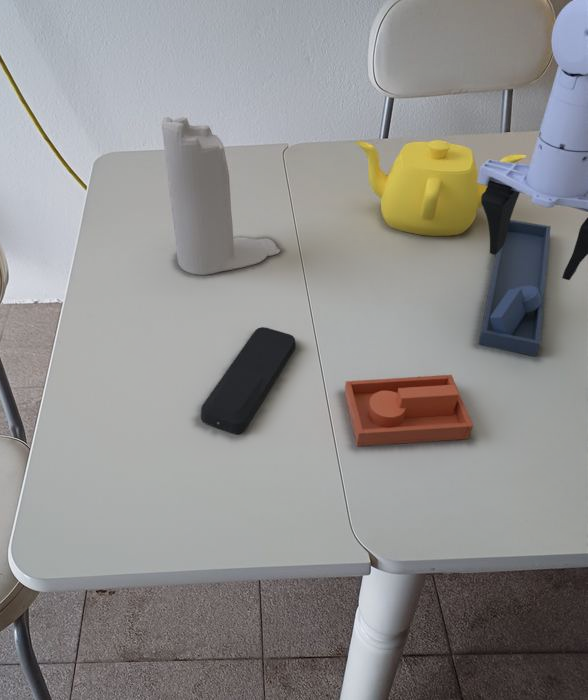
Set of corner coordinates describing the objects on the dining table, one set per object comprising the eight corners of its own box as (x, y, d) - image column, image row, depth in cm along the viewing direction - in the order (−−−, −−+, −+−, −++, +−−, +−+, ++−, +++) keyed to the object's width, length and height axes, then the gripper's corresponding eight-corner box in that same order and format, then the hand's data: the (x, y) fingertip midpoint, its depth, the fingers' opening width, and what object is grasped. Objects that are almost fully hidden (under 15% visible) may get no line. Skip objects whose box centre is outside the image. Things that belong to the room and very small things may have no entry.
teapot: (340, 240, 89) (346, 167, 82) (355, 186, 100) (362, 117, 93) (508, 260, 84) (531, 184, 77) (505, 200, 95) (524, 129, 88)
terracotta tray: (448, 387, 68) (451, 374, 67) (469, 438, 63) (473, 426, 61) (344, 393, 68) (345, 381, 66) (356, 446, 63) (358, 433, 61)
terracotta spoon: (445, 397, 66) (451, 376, 64) (456, 423, 64) (462, 402, 62) (364, 402, 66) (367, 381, 64) (371, 429, 64) (375, 408, 62)
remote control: (259, 336, 76) (197, 420, 66) (259, 324, 75) (196, 408, 64) (298, 347, 74) (241, 436, 64) (298, 335, 73) (240, 424, 63)
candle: (285, 259, 86) (288, 111, 73) (184, 279, 84) (167, 130, 70) (268, 231, 91) (268, 89, 78) (173, 250, 89) (155, 106, 75)
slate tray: (535, 356, 71) (539, 343, 70) (478, 344, 73) (482, 331, 71) (546, 238, 88) (550, 226, 86) (500, 230, 89) (503, 218, 88)
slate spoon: (518, 339, 71) (511, 317, 69) (487, 339, 73) (479, 317, 72) (546, 296, 75) (540, 274, 74) (516, 297, 78) (509, 276, 76)
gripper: (477, 134, 60) (450, 256, 69) (646, 177, 53) (591, 306, 62) (507, 109, 64) (477, 227, 73) (668, 146, 57) (613, 271, 66)
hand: (531, 262), depth 68 cm, fingers open, 7 cm apart
